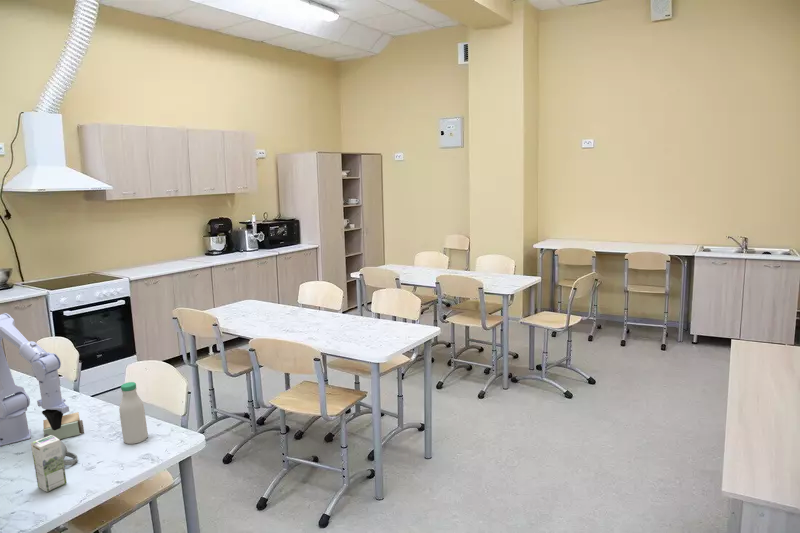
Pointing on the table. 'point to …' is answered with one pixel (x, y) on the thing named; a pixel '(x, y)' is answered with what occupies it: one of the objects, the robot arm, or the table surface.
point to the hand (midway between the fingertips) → (56, 428)
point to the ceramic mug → (68, 455)
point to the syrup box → (48, 463)
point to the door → (63, 431)
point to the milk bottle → (132, 415)
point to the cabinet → (68, 421)
